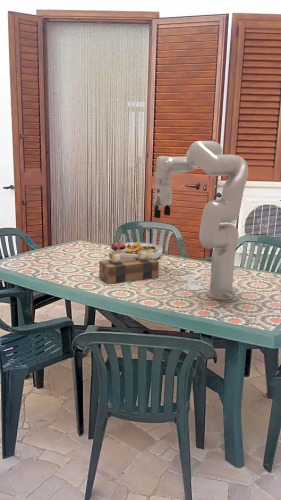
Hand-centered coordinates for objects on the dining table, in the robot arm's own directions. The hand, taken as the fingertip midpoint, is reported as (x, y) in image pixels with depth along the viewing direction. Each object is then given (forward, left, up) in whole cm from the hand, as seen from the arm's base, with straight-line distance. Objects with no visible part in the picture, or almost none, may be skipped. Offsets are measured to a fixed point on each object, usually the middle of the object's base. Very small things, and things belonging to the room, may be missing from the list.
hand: (162, 216), depth 225 cm
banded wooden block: (-4, +20, -28) cm, 35 cm away
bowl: (+32, -1, -29) cm, 43 cm away
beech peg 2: (-4, +13, -23) cm, 27 cm away
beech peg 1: (-4, +27, -23) cm, 36 cm away
